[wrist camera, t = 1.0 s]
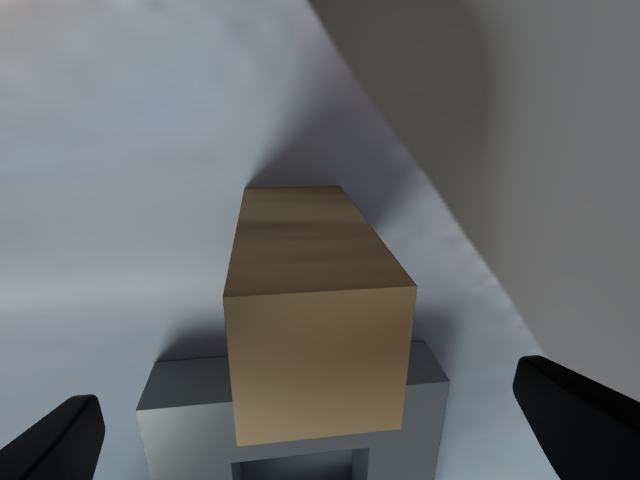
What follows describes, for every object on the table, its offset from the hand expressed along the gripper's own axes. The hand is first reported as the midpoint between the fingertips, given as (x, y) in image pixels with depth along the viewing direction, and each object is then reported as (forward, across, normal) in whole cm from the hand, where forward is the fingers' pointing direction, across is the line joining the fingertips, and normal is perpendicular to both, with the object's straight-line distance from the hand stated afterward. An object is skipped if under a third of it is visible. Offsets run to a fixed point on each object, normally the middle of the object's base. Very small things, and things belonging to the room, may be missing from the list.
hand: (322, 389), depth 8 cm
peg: (+10, 0, 0) cm, 10 cm away
